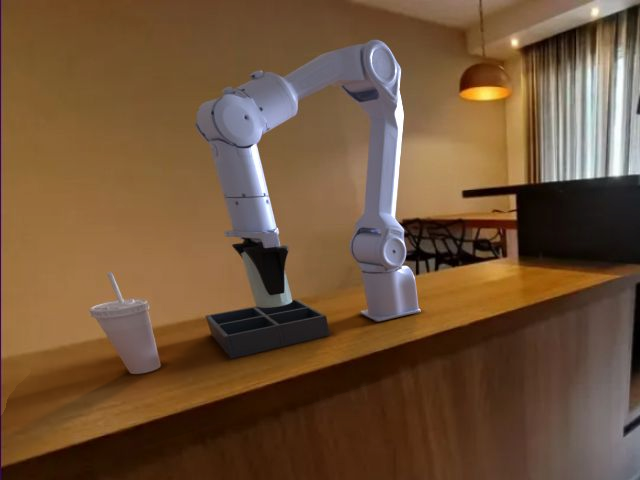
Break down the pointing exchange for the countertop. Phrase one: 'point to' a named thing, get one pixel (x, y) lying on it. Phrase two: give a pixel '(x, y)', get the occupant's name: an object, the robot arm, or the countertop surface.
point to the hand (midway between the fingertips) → (271, 290)
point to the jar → (259, 289)
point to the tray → (266, 327)
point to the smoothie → (129, 330)
